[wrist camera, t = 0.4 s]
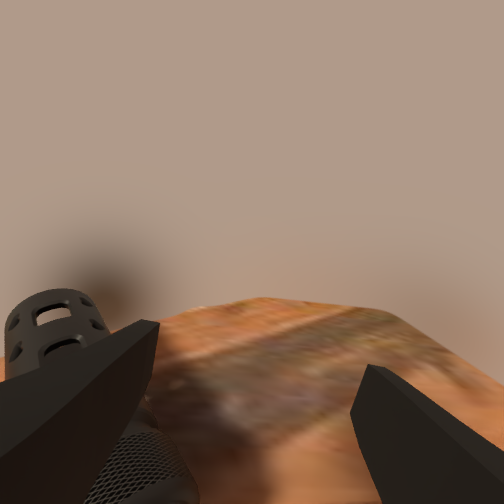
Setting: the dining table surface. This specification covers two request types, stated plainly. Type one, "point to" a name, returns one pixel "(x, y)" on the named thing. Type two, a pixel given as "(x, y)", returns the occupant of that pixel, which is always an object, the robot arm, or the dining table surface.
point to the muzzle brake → (138, 429)
